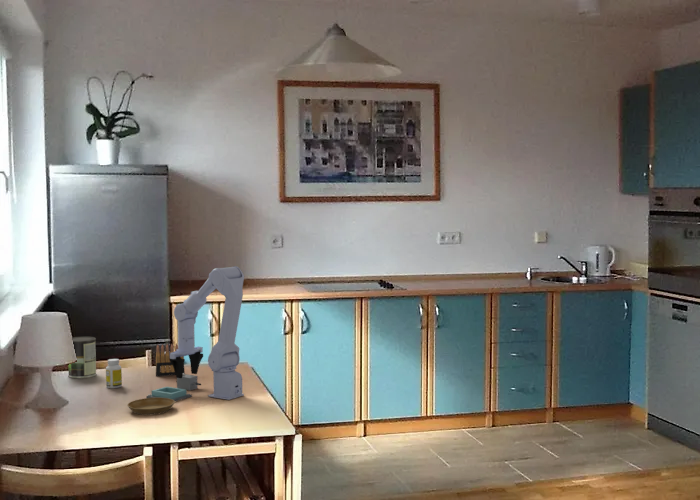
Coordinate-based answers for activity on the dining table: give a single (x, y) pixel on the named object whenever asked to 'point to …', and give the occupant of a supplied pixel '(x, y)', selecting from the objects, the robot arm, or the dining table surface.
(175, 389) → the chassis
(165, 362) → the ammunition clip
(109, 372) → the supplement bottle
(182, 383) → the block
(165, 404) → the plant saucer
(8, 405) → the dining table surface
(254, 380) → the dining table surface
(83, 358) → the coffee can
